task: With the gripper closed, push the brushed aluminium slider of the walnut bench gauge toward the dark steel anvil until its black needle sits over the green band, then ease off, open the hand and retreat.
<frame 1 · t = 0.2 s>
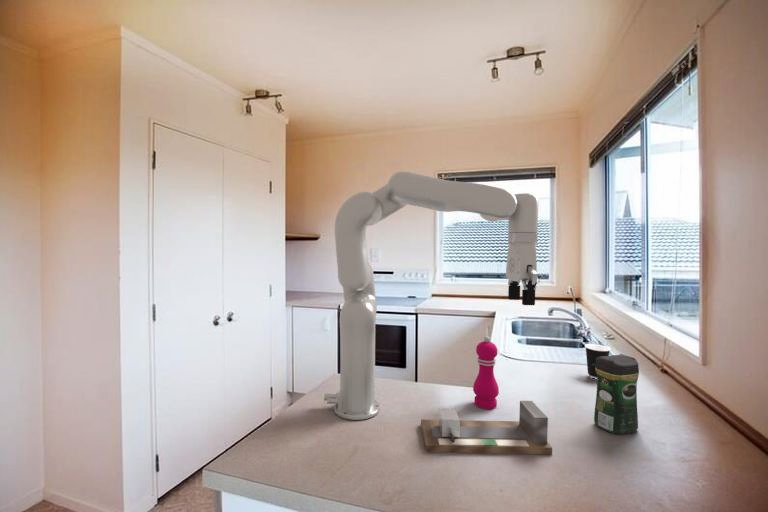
hand: (520, 302, 100), 31 cm above the countertop, tool pointing down, fingers open, 9 cm apart
gauge slider: (449, 424, 85), point 4 cm above the countertop, slide at 0.0 cm
dixie cup: (596, 378, 129), on the countertop
pepper mill: (485, 405, 106), on the countertop
coffee jar: (614, 427, 94), on the countertop
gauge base: (481, 438, 87), on the countertop
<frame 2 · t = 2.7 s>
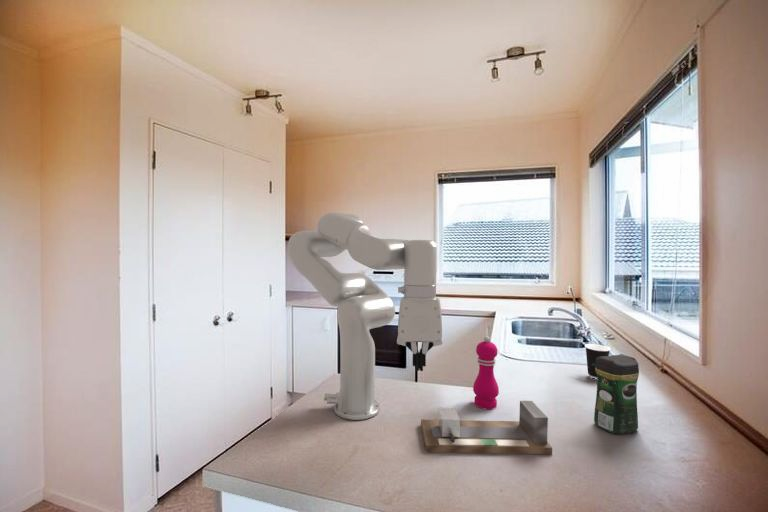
hand: (418, 369, 86), 17 cm above the countertop, tool pointing down, fingers closed
nothing on the countertop moved.
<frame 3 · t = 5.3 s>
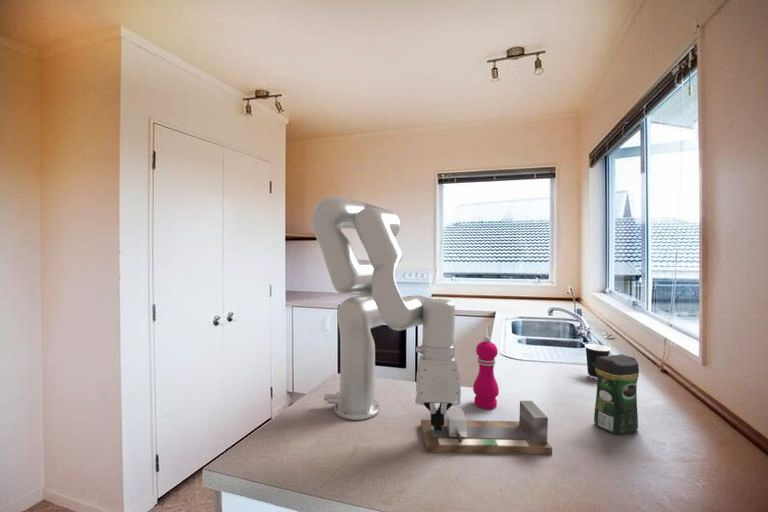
hand: (437, 428, 87), 2 cm above the countertop, tool pointing down, fingers closed
gauge slider: (456, 425, 85), point 4 cm above the countertop, slide at 1.6 cm, touching gripper
everything else where it was.
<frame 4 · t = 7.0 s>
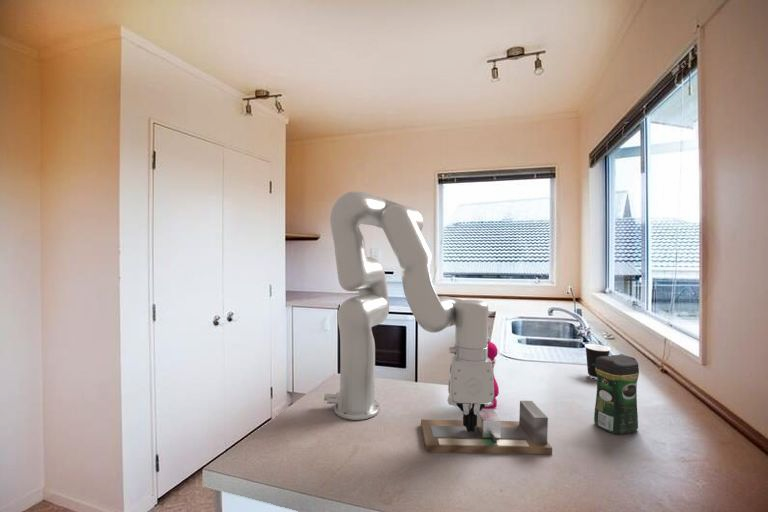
hand: (469, 428, 87), 2 cm above the countertop, tool pointing down, fingers closed
gauge slider: (489, 425, 85), point 4 cm above the countertop, slide at 9.4 cm, touching gripper
everything else where it was.
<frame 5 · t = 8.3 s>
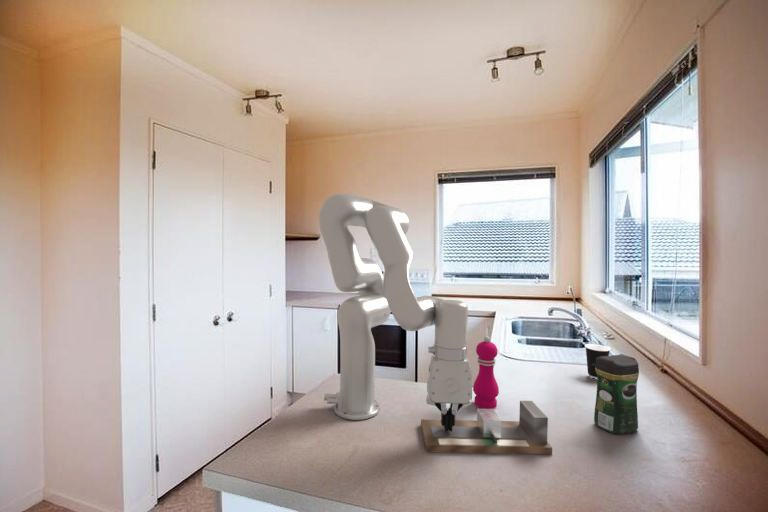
hand: (447, 428, 87), 2 cm above the countertop, tool pointing down, fingers closed
gauge slider: (490, 425, 85), point 4 cm above the countertop, slide at 9.5 cm
everything else where it was.
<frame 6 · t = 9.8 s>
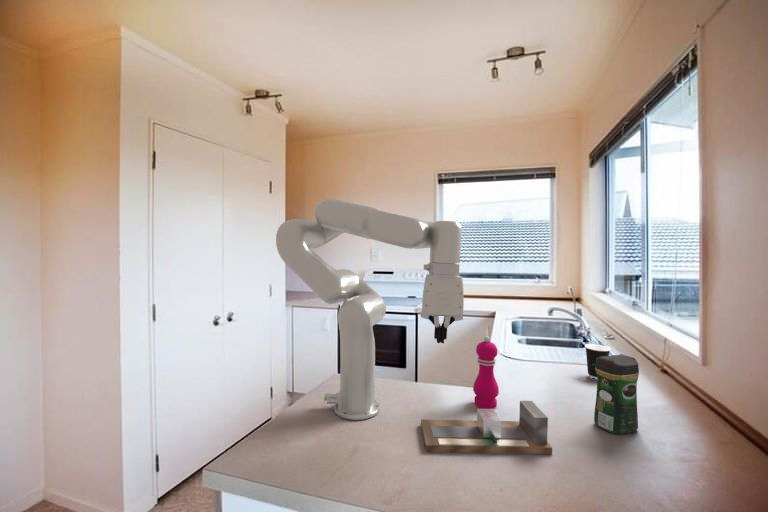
hand: (440, 341, 93), 22 cm above the countertop, tool pointing down, fingers closed
nothing on the countertop moved.
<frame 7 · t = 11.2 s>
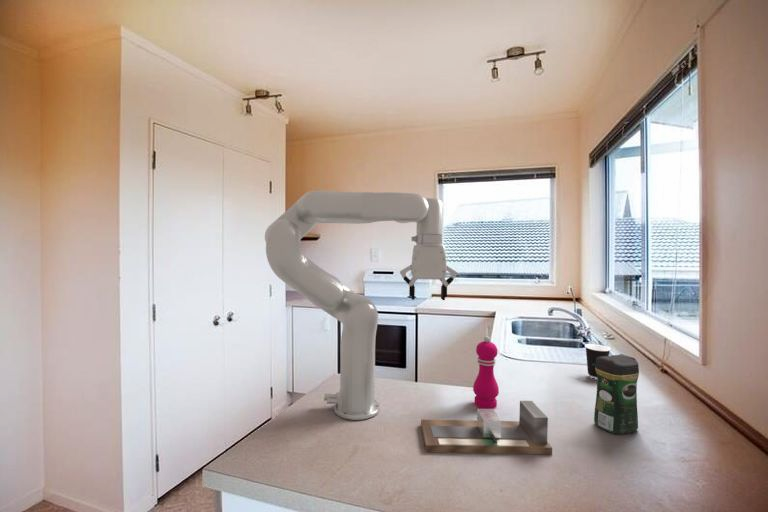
hand: (427, 299, 108), 30 cm above the countertop, tool pointing down, fingers open, 8 cm apart
nothing on the countertop moved.
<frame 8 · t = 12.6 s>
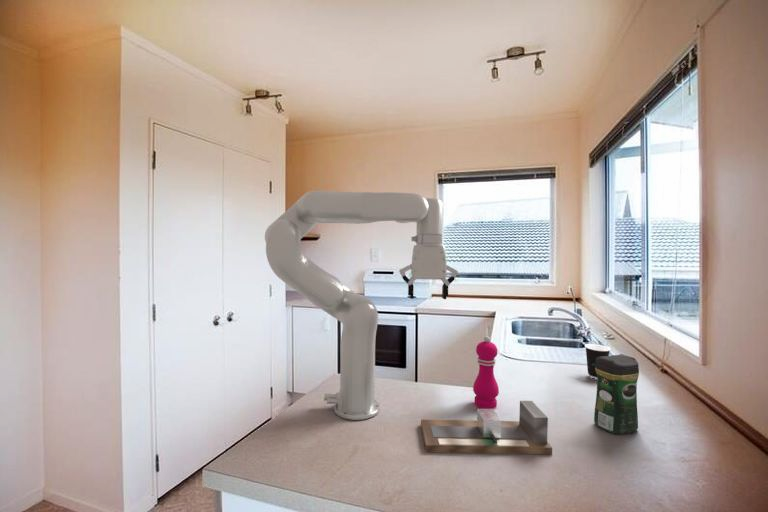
hand: (427, 298, 108), 30 cm above the countertop, tool pointing down, fingers open, 9 cm apart
nothing on the countertop moved.
at the end: gauge slider slide at 9.5 cm; pepper mill moved 0.2 cm from its start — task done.
